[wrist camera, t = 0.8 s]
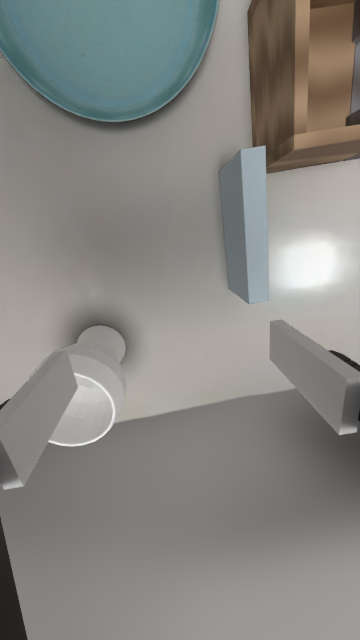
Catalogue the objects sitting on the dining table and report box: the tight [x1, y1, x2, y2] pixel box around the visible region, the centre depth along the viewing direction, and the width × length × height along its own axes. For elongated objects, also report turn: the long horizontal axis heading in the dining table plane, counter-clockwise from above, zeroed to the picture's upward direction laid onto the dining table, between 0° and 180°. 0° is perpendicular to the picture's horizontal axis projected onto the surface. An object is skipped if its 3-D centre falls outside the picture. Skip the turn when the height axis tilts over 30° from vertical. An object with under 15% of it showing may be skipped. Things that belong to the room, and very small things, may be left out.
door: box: [219, 146, 269, 304], centre depth 30 cm, size 16×2×9 cm, turn 9°
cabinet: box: [248, 0, 360, 173], centre depth 24 cm, size 16×18×10 cm
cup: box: [29, 325, 126, 446], centre depth 31 cm, size 11×11×15 cm
